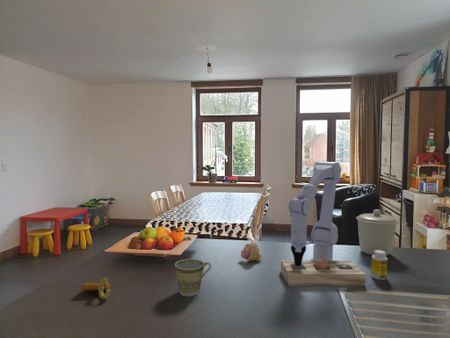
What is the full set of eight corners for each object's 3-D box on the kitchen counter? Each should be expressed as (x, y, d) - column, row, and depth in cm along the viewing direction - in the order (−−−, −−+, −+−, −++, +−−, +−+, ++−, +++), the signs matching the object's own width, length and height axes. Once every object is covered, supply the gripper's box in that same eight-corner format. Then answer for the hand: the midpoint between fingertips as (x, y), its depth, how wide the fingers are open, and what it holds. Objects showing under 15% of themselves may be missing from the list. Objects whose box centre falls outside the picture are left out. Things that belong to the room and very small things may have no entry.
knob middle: (313, 267, 128) (314, 258, 127) (324, 267, 128) (325, 258, 127) (317, 271, 123) (317, 262, 123) (328, 271, 123) (329, 262, 123)
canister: (394, 262, 144) (397, 215, 143) (351, 254, 154) (353, 210, 152) (398, 251, 160) (400, 208, 158) (358, 245, 169) (360, 204, 168)
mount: (280, 271, 132) (281, 260, 132) (349, 271, 133) (349, 260, 133) (288, 286, 118) (289, 274, 118) (365, 286, 119) (365, 274, 119)
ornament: (75, 275, 113) (95, 279, 103) (104, 274, 120) (125, 277, 110) (73, 296, 112) (92, 302, 101) (102, 294, 119) (123, 299, 109)
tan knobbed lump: (260, 258, 149) (269, 248, 143) (251, 274, 142) (260, 264, 136) (243, 246, 151) (251, 235, 144) (233, 262, 143) (241, 251, 137)
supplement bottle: (381, 281, 124) (382, 254, 123) (367, 276, 128) (369, 250, 127) (389, 278, 127) (390, 252, 126) (376, 273, 131) (377, 248, 131)
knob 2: (336, 272, 128) (336, 264, 128) (347, 272, 128) (347, 264, 128) (340, 277, 124) (341, 268, 123) (352, 277, 124) (352, 268, 124)
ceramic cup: (180, 301, 106) (180, 271, 105) (170, 289, 115) (170, 261, 114) (216, 293, 112) (217, 264, 111) (204, 282, 121) (205, 255, 120)
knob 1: (290, 271, 127) (290, 262, 127) (301, 271, 128) (302, 262, 127) (293, 276, 123) (293, 267, 123) (305, 276, 123) (305, 267, 123)
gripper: (310, 235, 116) (309, 273, 117) (309, 226, 130) (308, 259, 131) (290, 234, 118) (289, 271, 119) (291, 225, 132) (290, 258, 133)
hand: (297, 265), depth 125 cm, fingers closed, pressing on knob 1
